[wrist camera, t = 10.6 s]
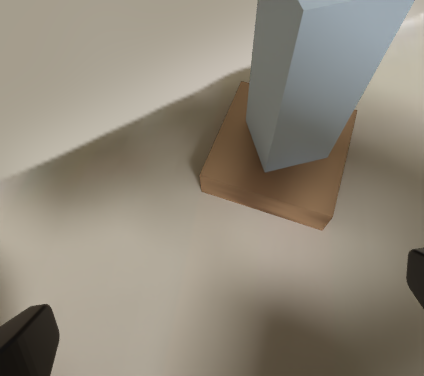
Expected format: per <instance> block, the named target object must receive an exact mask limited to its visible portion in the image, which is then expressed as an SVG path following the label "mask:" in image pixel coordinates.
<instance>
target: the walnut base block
mask: <svg viewBox="0 0 424 376" xmlns="http://www.w3.org/2000/svg"><path fill="white" fill-rule="evenodd" d="M248 92H249V83H247V82H243V81H241V83H240V85H239V88H238V90H237V92H236V94H235V97H234V99H233V101H232V103H231V105H230V108H229V110H228V112H227V114H226V117H225V119H224V121H223V123H222V126H221V128H220V130H219V132H218V135H217V137H216V139H215V141H214V144H213V146H212V148H211V150H210V153H209V155H208V157H207V159H206V162H205V164H204V166H203V168H202V170H201V173H200V175H199V176H200V183H201V190H202V192H205V193H208V194H211V195H214V196H217V197H220V198H223V199H226V200H229V201H233V202H236V203H239V204H242V205H245V206H248V207H251V208H254V209H257V210H260V211H263V212H266V213H270V214H273V215H276V216H279V217H282V218H285V219H288V220H291V221H294V222H297V223H300V224H303V225H306V226H310V227H313V228H316V229H319V230H323V229H324V228H325V226H326V225H327V224H328V222H329V221H330V220H331V219H332V217H333V214H334V209H335V205H336V201H337V196H338V192H339V188H340V183H341V179H342V175H343V170H344V166H345V162H346V157H347V153H348V149H349V144H350V140H351V136H352V131H353V127H354V123H355V118H356V114H357V110H354V111H353V112H352V114H351V116H350V118H349V120H348V121H347V123H346V125H345V127H344V129H343V130H342V132H341V134H340V136H339V138H338V139H337V141H336V143H335V145H334V147H333V148H332V150H331V152H330V154H329V156H328V158H324V159H319V160H315V161H311V162H307V163H303V164H298V165H294V166H290V167H286V168H281V169H277V170H273V171H269V172H264V169H263V167H262V164H261V161H260V158H259V156H258V153H257V150H256V147H255V145H254V142H253V139H252V136H251V133H250V131H249V128H248V125H247V122H246V112H247V102H248Z"/></svg>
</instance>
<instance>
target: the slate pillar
mask: <svg viewBox="0 0 424 376" xmlns="http://www.w3.org/2000/svg"><path fill="white" fill-rule="evenodd" d="M414 1H415V0H258V4H257V14H256V24H255V34H254V42H253V52H252V62H251V72H250V82H249V92H248V102H247V112H246V122H247V125H248V128H249V131H250V133H251V136H252V139H253V142H254V145H255V147H256V150H257V153H258V156H259V158H260V161H261V164H262V167H263V169H264V172H269V171H273V170H277V169H281V168H286V167H290V166H294V165H298V164H303V163H307V162H311V161H315V160H319V159H324V158H328V156H329V154H330V152H331V150H332V148H333V147H334V145H335V143H336V141H337V139H338V138H339V136H340V134H341V132H342V130H343V129H344V127H345V125H346V123H347V121H348V120H349V118H350V116H351V114H352V112H353V111H354V109H355V107H356V105H357V103H358V102H359V100H360V98H361V96H362V94H363V93H364V91H365V89H366V87H367V85H368V84H369V82H370V80H371V78H372V76H373V75H374V73H375V71H376V69H377V67H378V66H379V64H380V62H381V60H382V58H383V57H384V55H385V53H386V51H387V49H388V48H389V46H390V44H391V42H392V40H393V39H394V37H395V35H396V33H397V31H398V30H399V28H400V26H401V24H402V22H403V21H404V19H405V17H406V15H407V13H408V11H409V10H410V8H411V6H412V4H413V3H414Z"/></svg>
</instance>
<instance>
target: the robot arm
mask: <svg viewBox="0 0 424 376" xmlns="http://www.w3.org/2000/svg"><path fill="white" fill-rule="evenodd" d="M406 278H407V283H408V286H409V288H410V290H411V291H412V292H413V294H414V295H415V297H416V298H417V300H418V301H419V303H420V304H421V306H422V307H423V309H424V248H418V249H412V250H411V251H410V252H409V254H408V262H407V276H406ZM58 343H59V329H58V326H57V323H56V320H55V317H54V314H53V311H52V309H51V307H50V306H49V305H47V304H42V305H36V306H31V307H29V308H27V309H26V310H24V311H23V312H21V313H20V314H18V315H17V316H15V317H14V318H12V319H11V320H9V321H8V322H6V323H5V324H3V325H2V326H0V376H50V374H51V370H52V367H53V363H54V359H55V355H56V351H57V347H58Z"/></svg>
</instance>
